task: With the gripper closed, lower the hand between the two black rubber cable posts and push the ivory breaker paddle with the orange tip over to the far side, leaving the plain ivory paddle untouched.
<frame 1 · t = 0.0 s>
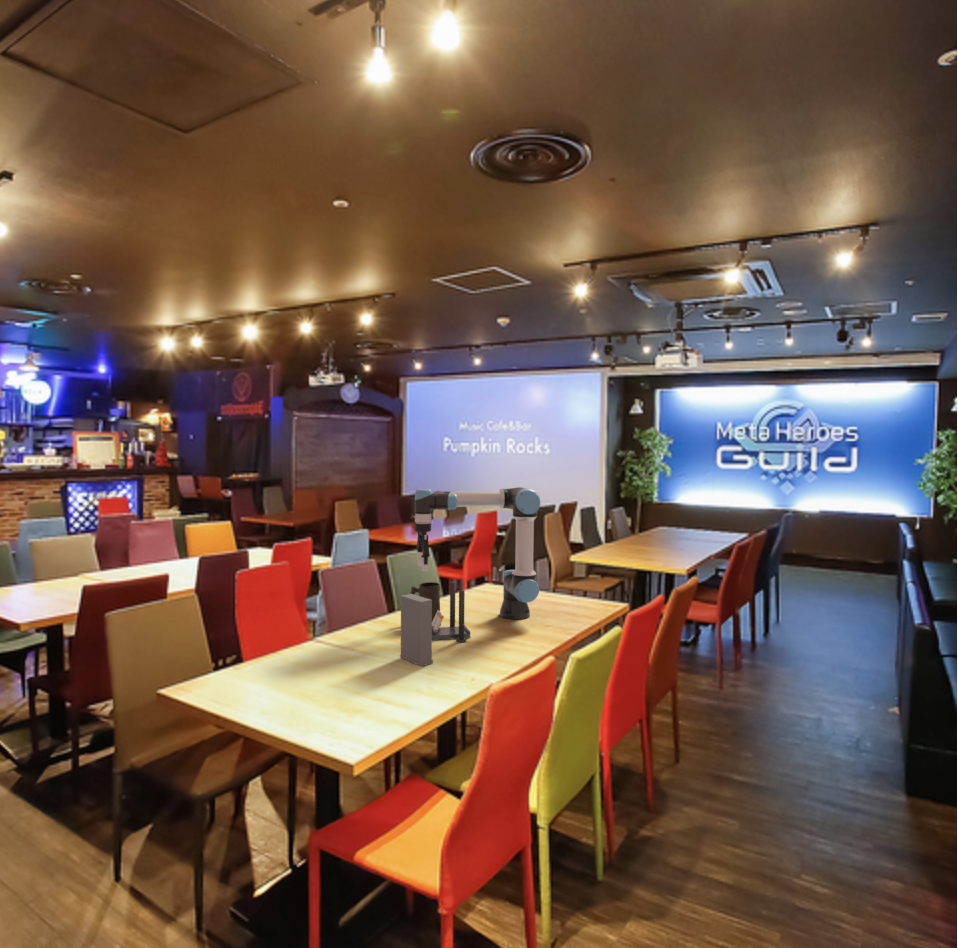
hand: (422, 568, 298), 28 cm above the table, fingers open, 13 cm apart
beer stein: (424, 625, 306), on the table
breaker paddle: (438, 623, 286), point 6 cm above the table, hinge at -25.0°
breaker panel: (440, 635, 288), on the table
breaker paddle a: (435, 620, 292), point 6 cm above the table, hinge at -25.0°
cable post far: (452, 629, 298), on the table
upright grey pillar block: (416, 661, 254), on the table
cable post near: (461, 641, 280), on the table
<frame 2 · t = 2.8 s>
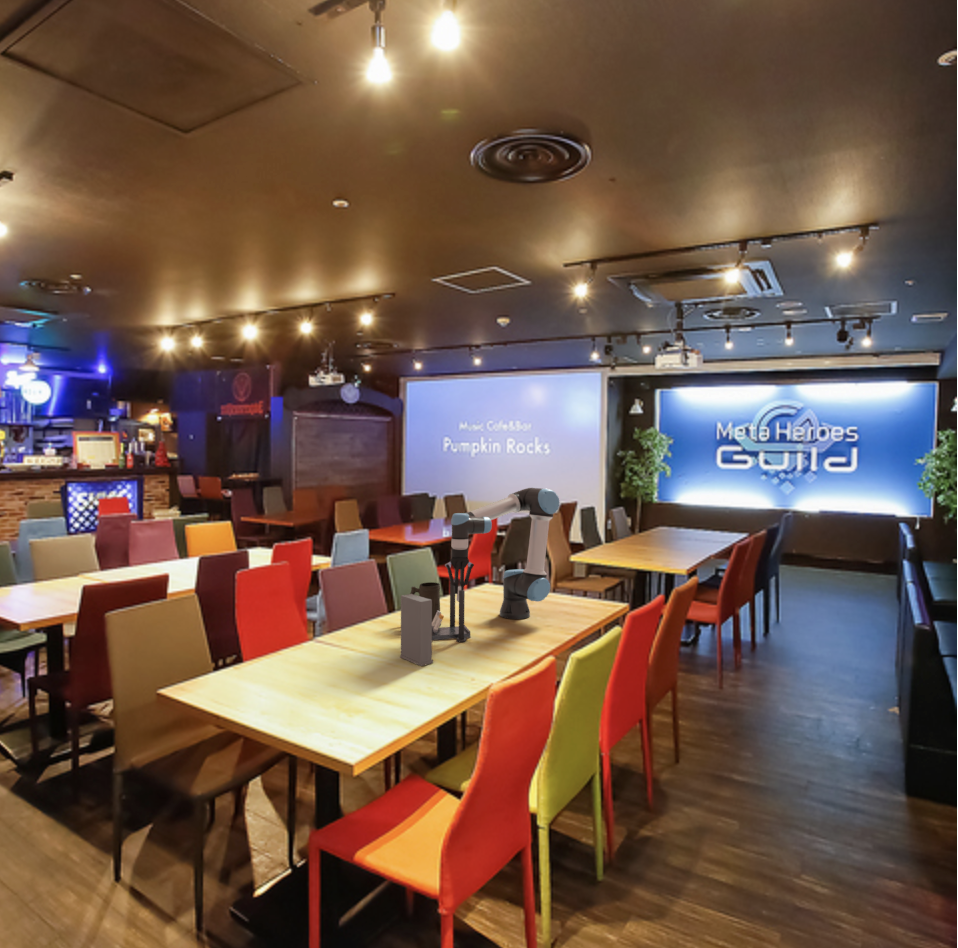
hand: (458, 600, 288), 16 cm above the table, fingers closed
nothing on the table moved.
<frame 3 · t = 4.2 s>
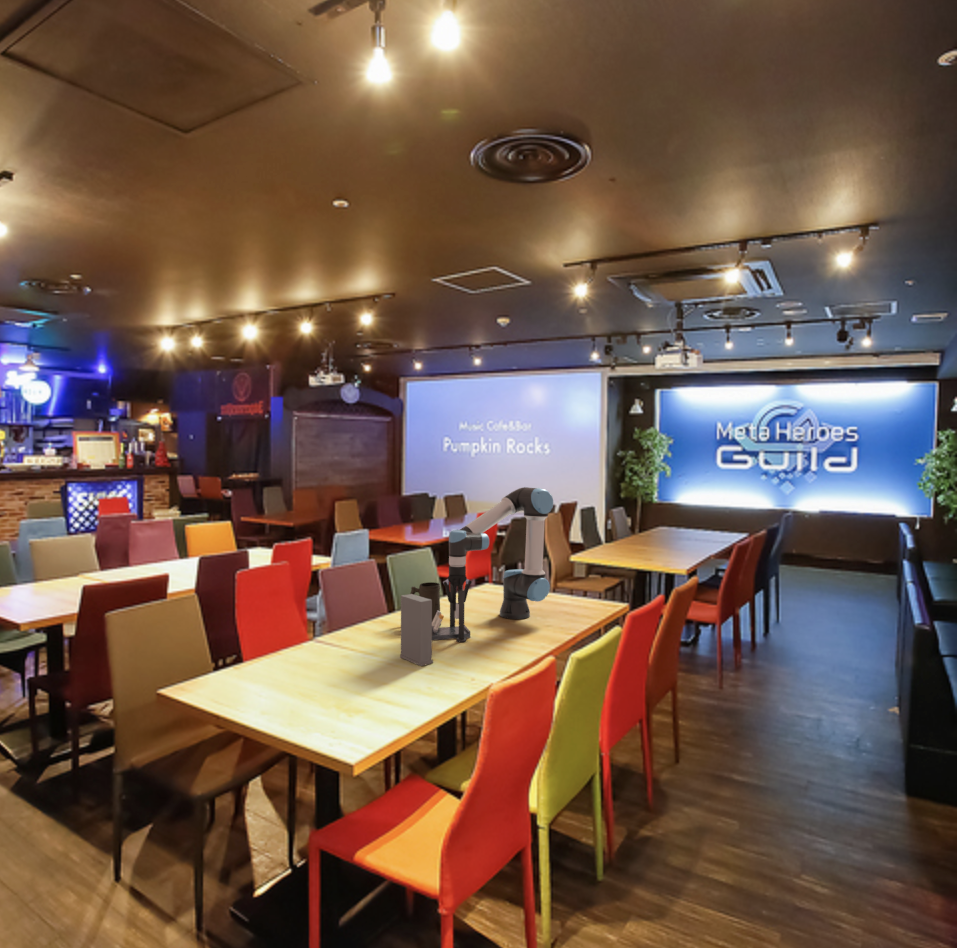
hand: (456, 617, 288), 8 cm above the table, fingers closed
nothing on the table moved.
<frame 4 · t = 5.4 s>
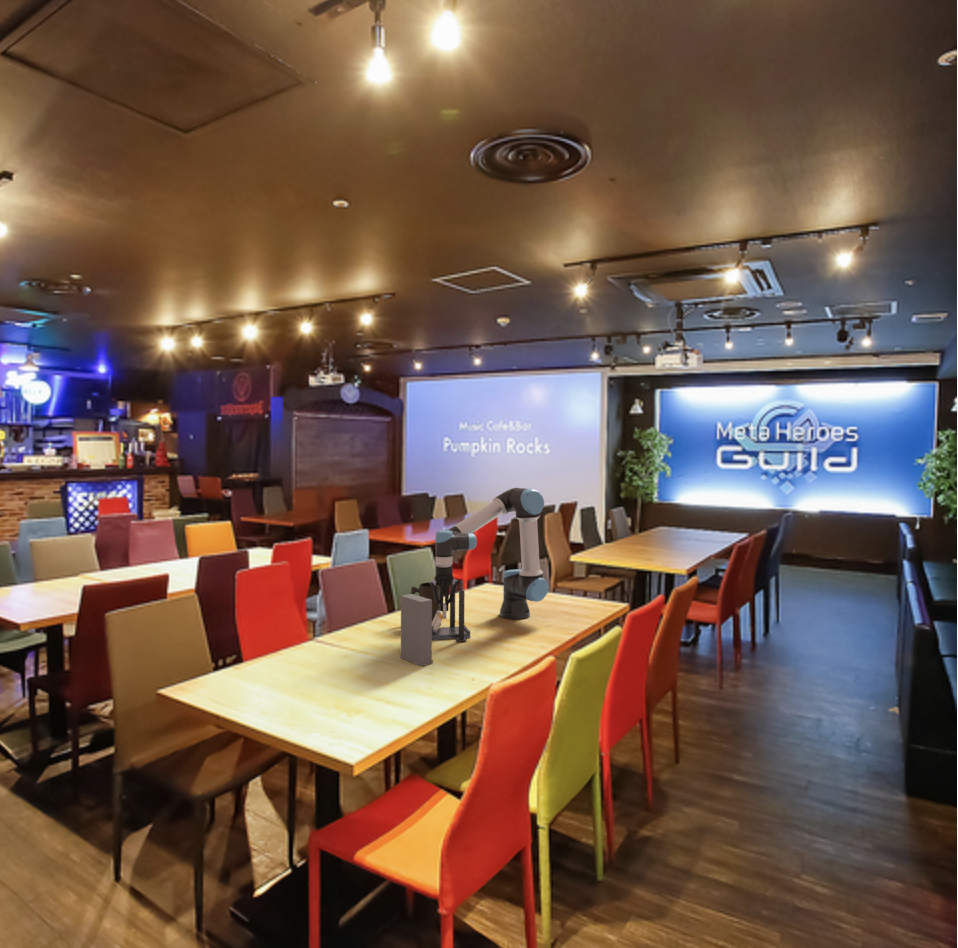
hand: (444, 618, 287), 8 cm above the table, fingers closed
breaker paddle: (438, 623, 286), point 6 cm above the table, hinge at -23.9°, touching gripper
everything else where it was.
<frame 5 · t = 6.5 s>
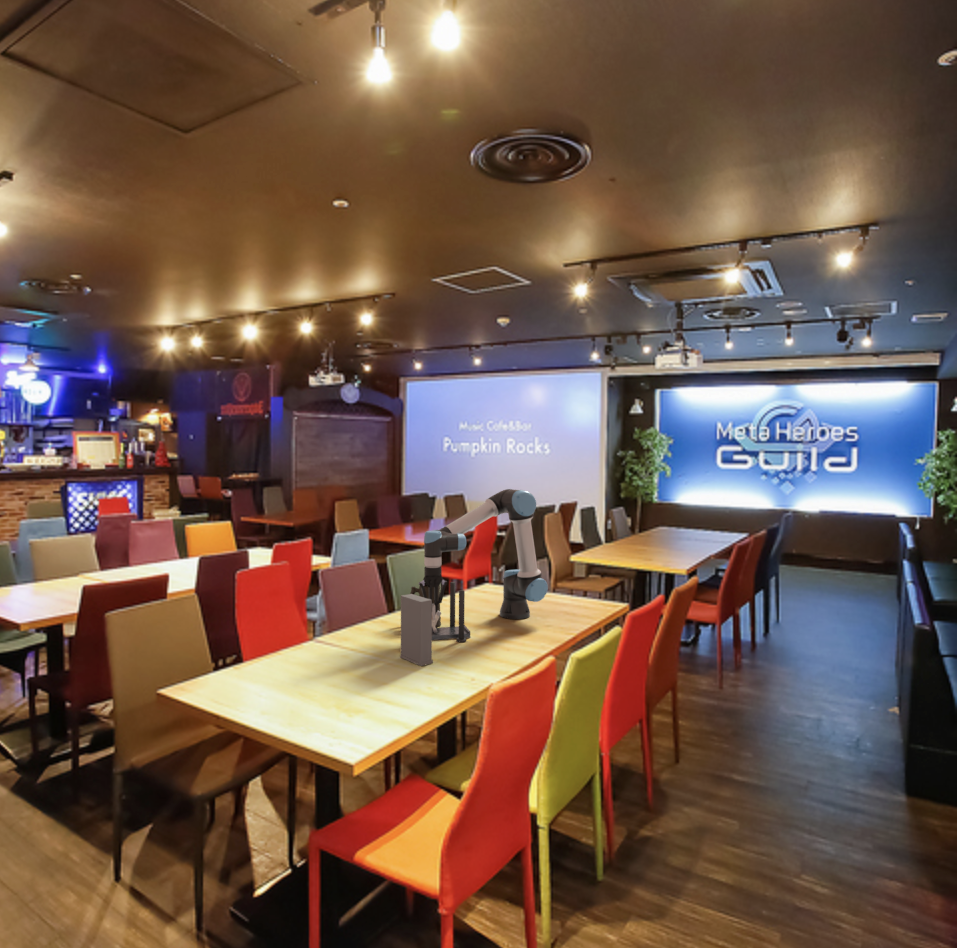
hand: (433, 619, 285), 8 cm above the table, fingers closed
breaker paddle: (432, 623, 285), point 6 cm above the table, hinge at 21.8°, touching gripper
everything else where it was.
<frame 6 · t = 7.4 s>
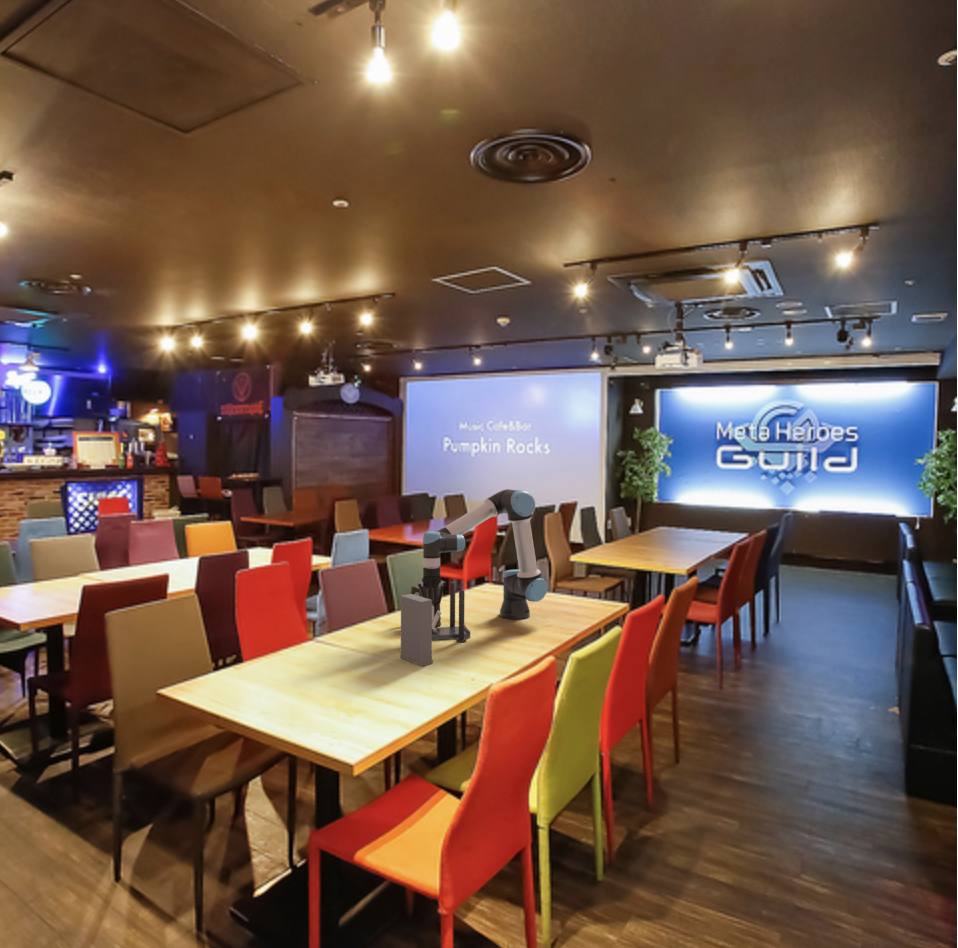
hand: (431, 620, 285), 8 cm above the table, fingers closed
breaker paddle: (431, 624, 285), point 6 cm above the table, hinge at 31.9°, touching gripper
everything else where it was.
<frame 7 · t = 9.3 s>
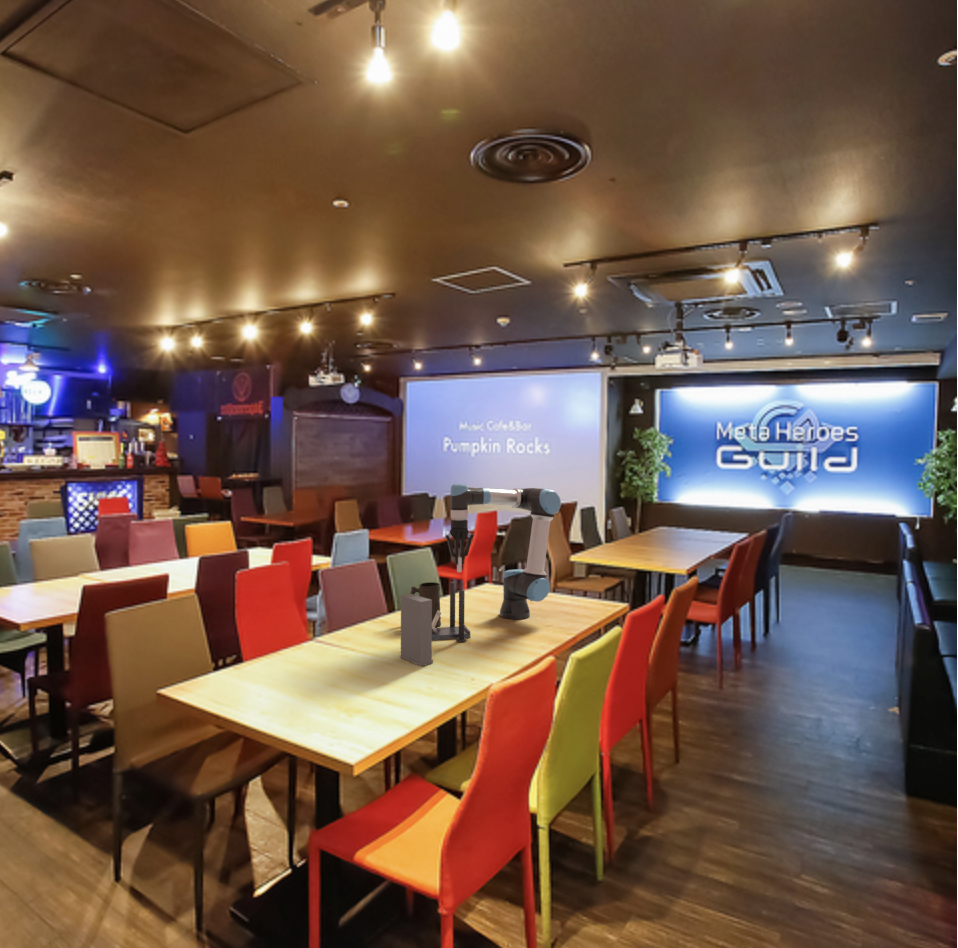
hand: (459, 571, 288), 29 cm above the table, fingers closed
breaker paddle: (431, 624, 285), point 6 cm above the table, hinge at 32.2°
everything else where it was.
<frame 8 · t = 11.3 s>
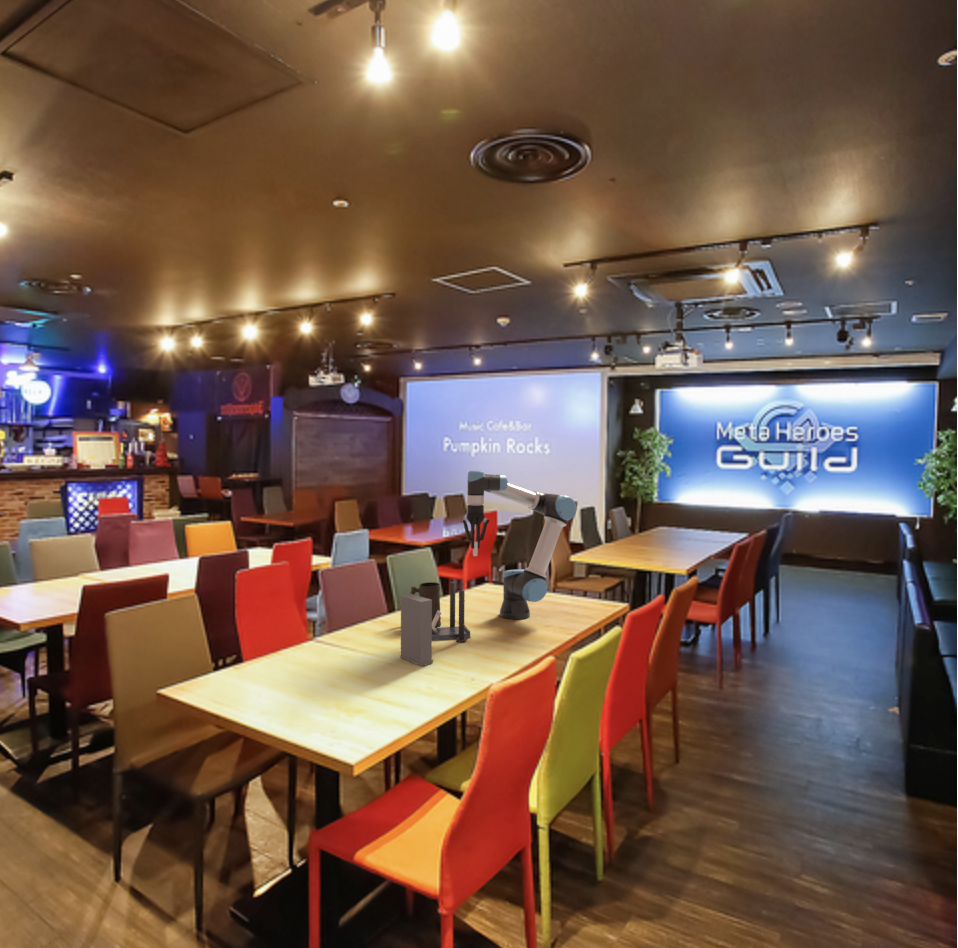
hand: (475, 555, 297), 34 cm above the table, fingers closed
nothing on the table moved.
at the end: breaker paddle at +32° (first picture: -25°); breaker paddle a at -25° (first picture: -25°) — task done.
